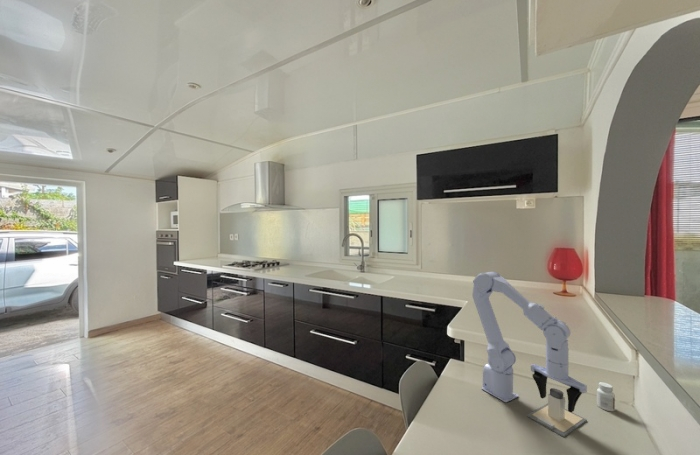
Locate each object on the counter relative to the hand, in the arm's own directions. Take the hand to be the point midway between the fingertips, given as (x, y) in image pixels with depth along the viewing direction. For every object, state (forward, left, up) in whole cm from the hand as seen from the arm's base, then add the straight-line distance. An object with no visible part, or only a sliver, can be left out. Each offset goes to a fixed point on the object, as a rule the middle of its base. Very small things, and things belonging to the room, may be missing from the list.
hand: (556, 403), depth 85 cm
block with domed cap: (0, 0, -4) cm, 4 cm away
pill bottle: (+5, +22, -5) cm, 23 cm away
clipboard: (0, 0, -5) cm, 5 cm away
